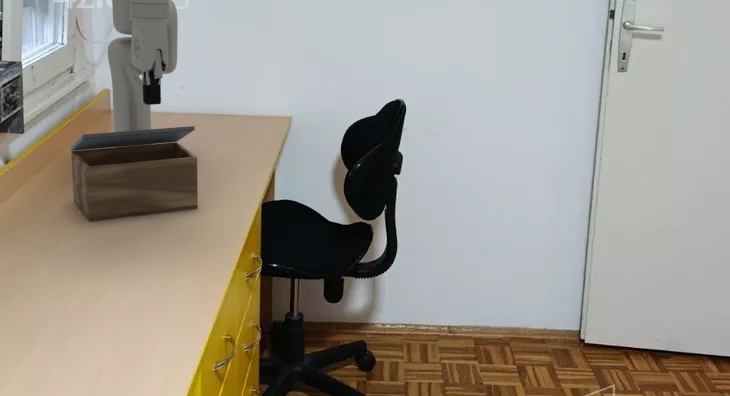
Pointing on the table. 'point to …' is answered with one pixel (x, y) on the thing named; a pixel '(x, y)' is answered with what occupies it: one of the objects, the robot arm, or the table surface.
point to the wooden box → (134, 180)
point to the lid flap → (131, 138)
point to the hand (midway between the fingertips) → (152, 103)
